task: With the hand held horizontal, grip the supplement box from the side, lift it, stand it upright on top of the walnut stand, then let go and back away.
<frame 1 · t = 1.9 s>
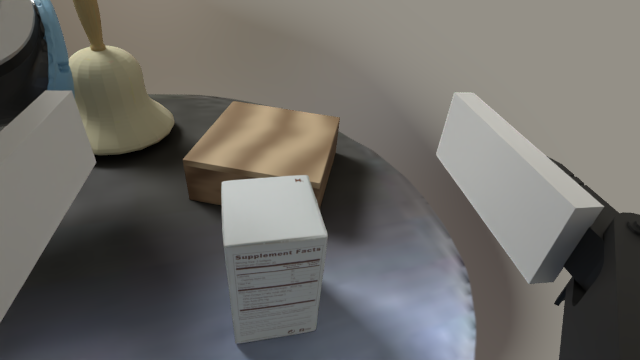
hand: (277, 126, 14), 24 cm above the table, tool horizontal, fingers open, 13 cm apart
handbell: (122, 136, 57), on the table
walnut stand: (270, 173, 52), on the table
supplement box: (271, 305, 36), on the table
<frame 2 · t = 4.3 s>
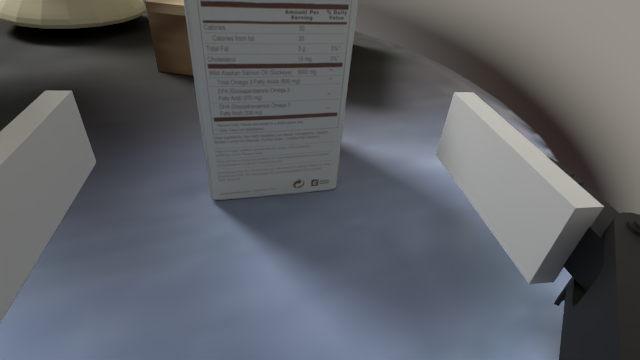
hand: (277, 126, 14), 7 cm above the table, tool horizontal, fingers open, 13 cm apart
handbell: (81, 25, 45), on the table
walnut stand: (266, 55, 41), on the table
supplement box: (268, 165, 24), on the table
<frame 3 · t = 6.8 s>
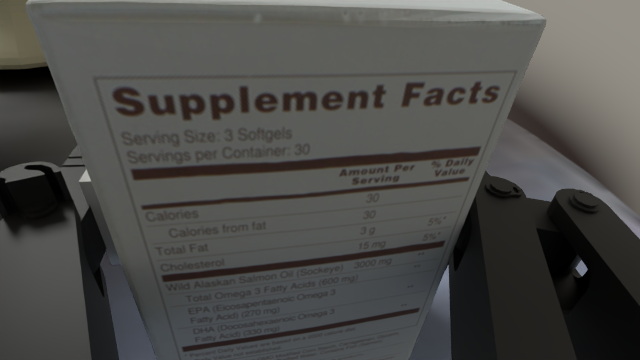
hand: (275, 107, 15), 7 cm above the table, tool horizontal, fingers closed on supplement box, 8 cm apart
handbell: (43, 58, 37), on the table
supplement box: (282, 323, 15), on the table, touching gripper
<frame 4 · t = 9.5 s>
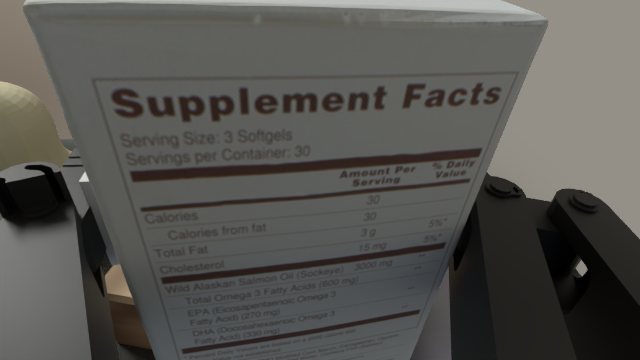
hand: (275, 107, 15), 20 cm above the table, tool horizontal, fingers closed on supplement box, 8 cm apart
handbell: (32, 214, 37), on the table
walnut stand: (257, 274, 33), on the table
supplement box: (282, 325, 15), point 13 cm above the table, touching gripper
when the fingers open (14 cm above the table, at t = 12.0 s): supplement box drops 1 cm, resting on walnut stand.
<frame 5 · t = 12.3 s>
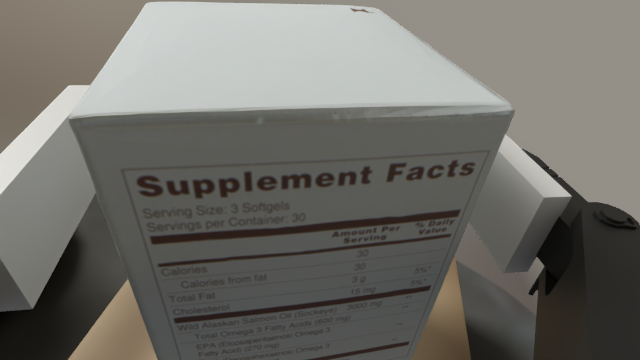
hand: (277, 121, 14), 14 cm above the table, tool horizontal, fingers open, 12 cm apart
supplement box: (284, 343, 16), point 6 cm above the table, touching walnut stand
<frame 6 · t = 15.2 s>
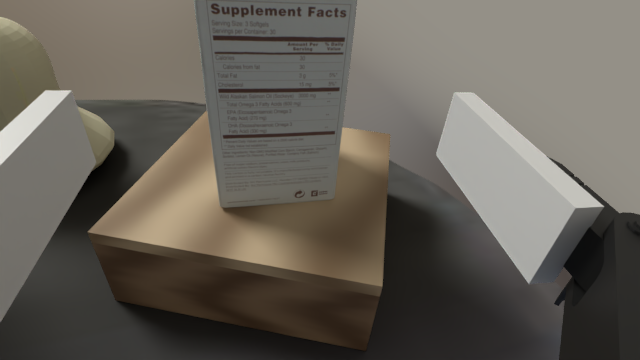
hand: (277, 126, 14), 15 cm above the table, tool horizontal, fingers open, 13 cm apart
handbell: (28, 169, 34), on the table
walnut stand: (272, 234, 29), on the table
supplement box: (272, 175, 26), point 6 cm above the table, touching walnut stand
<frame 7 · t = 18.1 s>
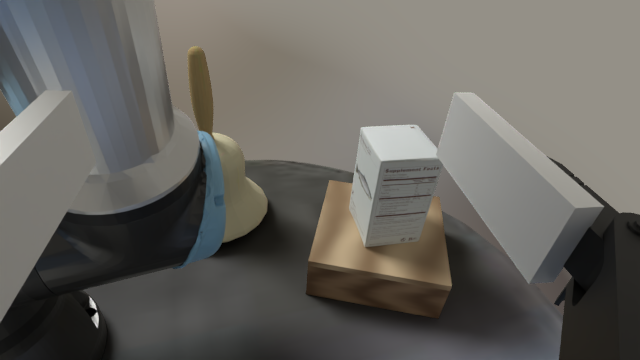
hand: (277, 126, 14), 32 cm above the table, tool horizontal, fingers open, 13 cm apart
handbell: (216, 215, 57), on the table
walnut stand: (374, 257, 52), on the table
supplement box: (382, 226, 48), point 6 cm above the table, touching walnut stand
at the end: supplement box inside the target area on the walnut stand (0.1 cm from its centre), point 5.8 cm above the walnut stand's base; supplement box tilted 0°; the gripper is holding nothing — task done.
